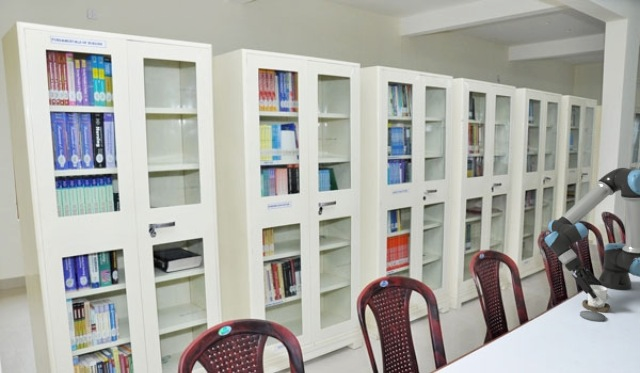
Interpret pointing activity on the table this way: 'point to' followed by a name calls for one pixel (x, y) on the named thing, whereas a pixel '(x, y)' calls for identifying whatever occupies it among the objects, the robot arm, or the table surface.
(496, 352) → the table surface
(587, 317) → the coaster
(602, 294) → the white cup
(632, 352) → the table surface
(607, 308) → the collar
